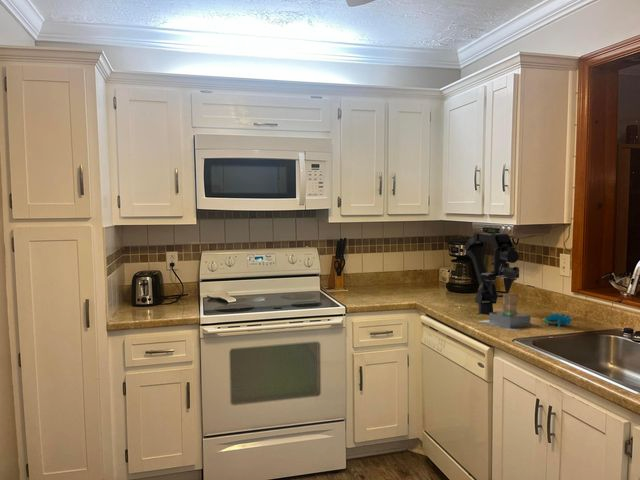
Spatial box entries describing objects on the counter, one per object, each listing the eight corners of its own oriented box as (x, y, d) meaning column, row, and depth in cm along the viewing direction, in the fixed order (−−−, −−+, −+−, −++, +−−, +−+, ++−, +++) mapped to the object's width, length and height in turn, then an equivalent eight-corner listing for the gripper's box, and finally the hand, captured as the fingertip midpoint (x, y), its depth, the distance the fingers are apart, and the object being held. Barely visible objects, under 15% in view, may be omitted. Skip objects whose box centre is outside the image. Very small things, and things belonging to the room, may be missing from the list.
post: (502, 314, 214) (502, 293, 213) (509, 313, 216) (509, 292, 215) (509, 316, 210) (510, 295, 210) (516, 315, 212) (517, 294, 211)
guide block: (489, 322, 216) (489, 312, 216) (509, 319, 221) (509, 309, 221) (509, 328, 205) (510, 317, 205) (530, 325, 210) (530, 314, 210)
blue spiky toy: (573, 323, 210) (569, 311, 204) (573, 335, 207) (570, 322, 201) (545, 324, 216) (541, 311, 210) (545, 335, 212) (541, 323, 206)
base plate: (477, 323, 219) (477, 321, 219) (507, 319, 226) (507, 317, 226) (511, 334, 201) (511, 331, 200) (542, 329, 208) (542, 326, 208)
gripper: (498, 263, 210) (497, 298, 211) (529, 261, 217) (528, 295, 218) (479, 261, 220) (479, 294, 221) (510, 258, 227) (509, 291, 229)
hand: (499, 293), depth 222 cm, fingers open, 9 cm apart
